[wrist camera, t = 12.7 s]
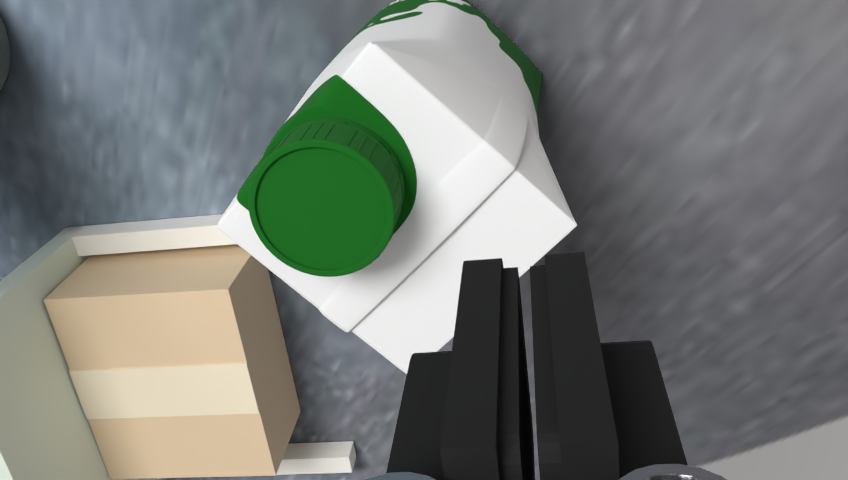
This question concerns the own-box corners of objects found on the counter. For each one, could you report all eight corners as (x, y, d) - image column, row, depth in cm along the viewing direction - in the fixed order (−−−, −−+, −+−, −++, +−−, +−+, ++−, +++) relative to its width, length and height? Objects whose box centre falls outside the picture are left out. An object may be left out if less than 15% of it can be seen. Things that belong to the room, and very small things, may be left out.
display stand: (303, 207, 43) (233, 323, 32) (356, 455, 50) (313, 617, 39) (65, 227, 45) (-75, 342, 34) (149, 463, 52) (55, 618, 42)
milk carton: (433, -57, 36) (355, 23, 18) (571, 74, 38) (621, 261, 20) (319, 81, 40) (160, 261, 22) (451, 194, 42) (404, 445, 24)
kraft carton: (262, 237, 44) (227, 290, 39) (301, 408, 49) (275, 476, 44) (98, 248, 46) (42, 300, 40) (152, 413, 51) (109, 480, 45)
